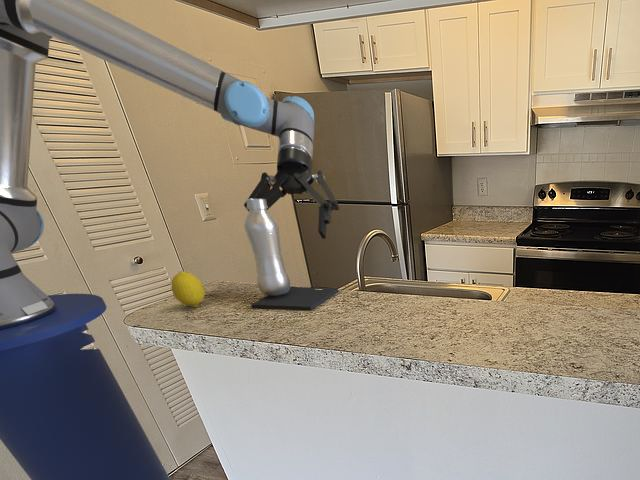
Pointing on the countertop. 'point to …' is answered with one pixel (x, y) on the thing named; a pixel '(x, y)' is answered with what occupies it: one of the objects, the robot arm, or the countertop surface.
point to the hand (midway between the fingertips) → (290, 236)
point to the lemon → (187, 289)
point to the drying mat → (296, 299)
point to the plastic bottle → (266, 249)
